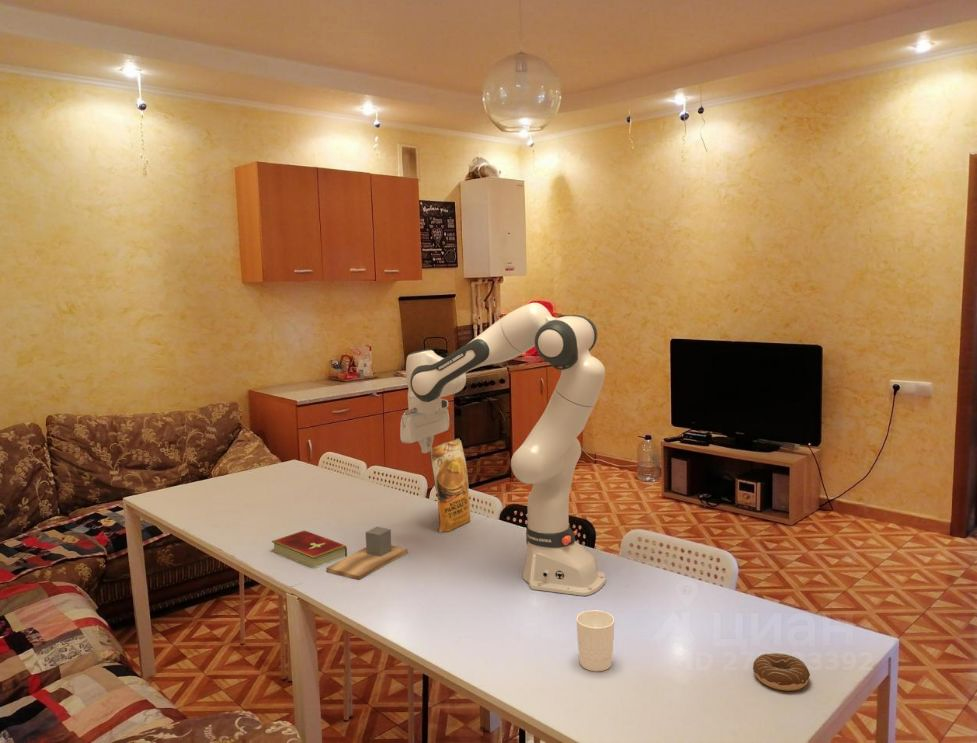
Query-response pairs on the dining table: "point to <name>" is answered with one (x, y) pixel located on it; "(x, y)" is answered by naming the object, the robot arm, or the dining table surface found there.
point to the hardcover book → (309, 548)
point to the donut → (781, 671)
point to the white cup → (595, 639)
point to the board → (364, 563)
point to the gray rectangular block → (378, 541)
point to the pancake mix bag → (451, 485)
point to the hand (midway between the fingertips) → (426, 452)
